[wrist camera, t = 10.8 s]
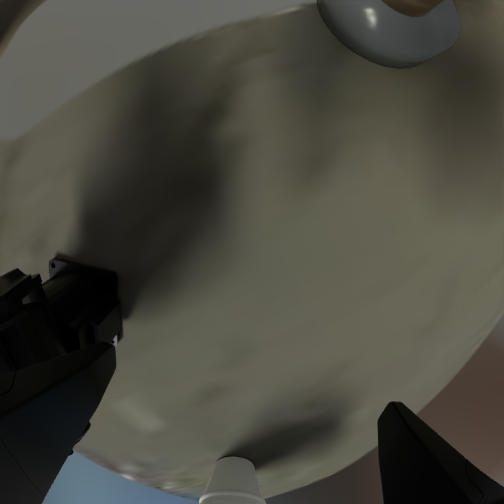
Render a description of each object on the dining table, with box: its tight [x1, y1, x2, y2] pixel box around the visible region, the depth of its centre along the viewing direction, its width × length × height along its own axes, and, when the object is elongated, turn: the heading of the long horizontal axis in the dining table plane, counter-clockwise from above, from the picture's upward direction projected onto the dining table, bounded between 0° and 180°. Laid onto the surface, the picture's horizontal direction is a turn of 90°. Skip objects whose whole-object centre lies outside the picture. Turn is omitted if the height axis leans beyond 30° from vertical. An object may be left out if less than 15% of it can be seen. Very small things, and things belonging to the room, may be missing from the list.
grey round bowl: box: [317, 0, 460, 69], centre depth 13 cm, size 10×10×4 cm
